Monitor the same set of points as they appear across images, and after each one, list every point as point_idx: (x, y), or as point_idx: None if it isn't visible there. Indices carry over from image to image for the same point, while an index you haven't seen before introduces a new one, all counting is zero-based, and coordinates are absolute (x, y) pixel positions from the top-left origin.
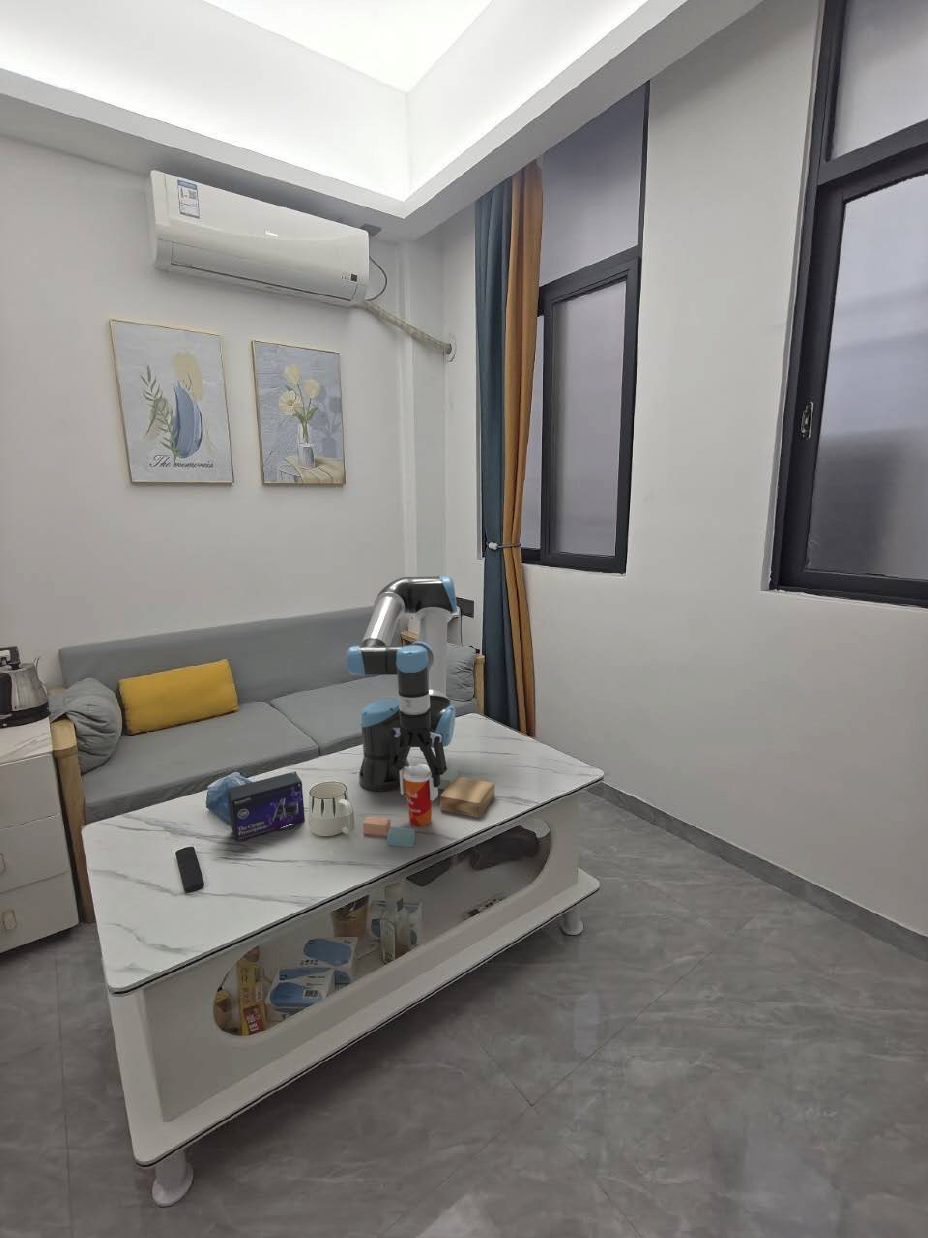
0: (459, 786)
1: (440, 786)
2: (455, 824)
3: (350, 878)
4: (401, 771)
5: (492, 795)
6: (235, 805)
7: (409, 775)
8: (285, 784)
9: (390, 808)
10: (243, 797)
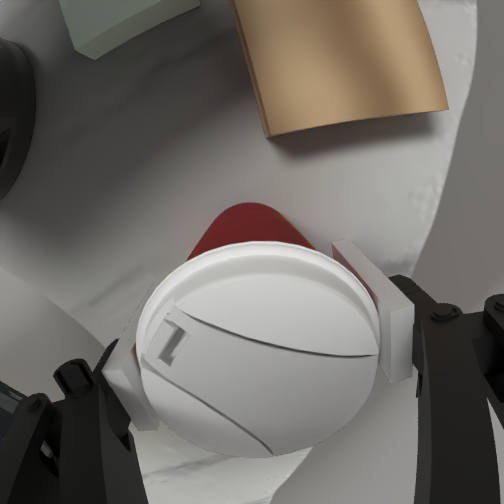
0: (295, 18)
1: (157, 19)
2: (375, 192)
3: (272, 470)
4: (153, 427)
5: None
6: None
7: (262, 456)
8: None
9: (101, 246)
10: None
